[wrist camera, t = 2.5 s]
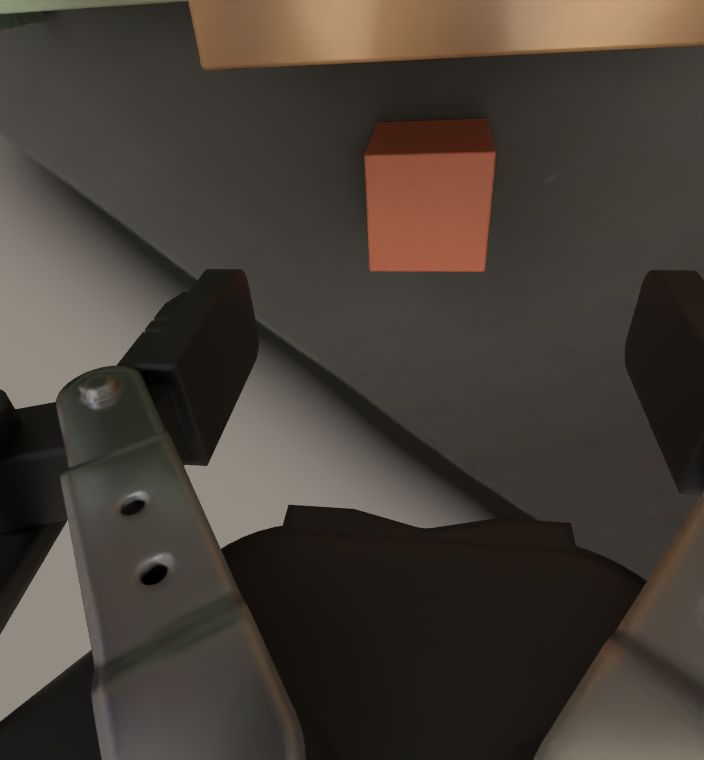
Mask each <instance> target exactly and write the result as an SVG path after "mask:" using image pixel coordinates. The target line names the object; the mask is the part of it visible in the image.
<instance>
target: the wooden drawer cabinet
mask: <svg viewBox="0 0 704 760" xmlns="http://www.w3.org/2000/svg"><path fill="white" fill-rule="evenodd" d="M188 3H189V8H190V12H191V17H192V22H193V27H194V32H195V37H196V42H197V47H198V52H199V57H200V61H201V66H202V68H203V69H204V70H225V69H245V68H265V67H285V66H305V65H325V64H345V63H365V62H385V61H405V60H425V59H445V58H465V57H485V56H505V55H525V54H545V53H565V52H585V51H605V50H625V49H645V48H665V47H685V46H704V0H188Z"/></svg>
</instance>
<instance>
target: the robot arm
mask: <svg viewBox="0 0 704 760" xmlns="http://www.w3.org/2000/svg"><path fill="white" fill-rule="evenodd" d="M258 347H259V337H258V330H257V325H256V320H255V315H254V310H253V305H252V300H251V295H250V290H249V285H248V281H247V277H246V275H245V273H244V271H243V270H241V269H207V270H205V271H204V273H203V274H202V275H201V277H200V278H199V279H198V281H197V282H196V283H195V285H194V286H193V287H192V289H191V290H190V292H183V293H181V294H180V295H178V296H177V297H175V298H173V299H172V300H170V301H169V302H167V303H166V304H165V305H164V306H163V307H162V309H161V310H160V311H159V312H158V314H157V315H156V316H155V317H154V321H151V322H150V324H149V325H148V326H147V328H146V329H145V332H143V333H142V334H141V335H140V336H139V338H138V339H137V340H136V341H135V343H134V344H133V345H132V346H131V348H130V349H129V350H128V352H127V353H126V354H125V355H124V357H123V358H122V359H121V360H120V362H119V363H118V364H117V365H116V366H107V367H102V368H98V369H95V370H92V371H89V372H86V373H84V374H82V375H80V376H78V377H76V378H75V379H73V380H72V381H70V382H69V383H68V384H67V385H66V386H65V387H63V389H62V390H61V391H60V392H59V394H58V396H57V399H56V402H54V403H48V404H43V405H37V406H31V407H26V408H21V409H15V408H14V407H13V405H12V403H11V402H10V400H9V398H8V396H7V395H6V393H5V392H4V391H3V390H0V634H1V632H2V630H3V629H4V627H5V625H6V624H7V622H8V620H9V618H10V617H11V615H12V613H13V612H14V610H15V608H16V607H17V605H18V603H19V602H20V600H21V598H22V597H23V595H24V593H25V591H26V590H27V588H28V586H29V584H30V583H31V581H32V580H33V578H34V576H35V574H36V573H37V571H38V569H39V568H40V566H41V564H42V563H43V561H44V559H45V558H46V556H47V554H48V552H49V551H50V549H51V547H52V546H53V544H54V542H55V541H56V539H57V537H58V535H59V534H60V532H61V530H62V529H63V527H64V525H65V523H66V522H67V520H68V522H69V528H70V534H71V539H72V544H73V550H74V556H75V561H76V567H77V572H78V577H79V582H80V588H81V594H82V599H83V604H84V610H85V615H86V621H87V626H88V632H89V637H90V643H91V648H92V650H91V651H89V652H88V653H87V654H85V655H84V656H83V657H82V658H80V659H79V660H78V661H77V662H75V663H74V664H73V665H72V666H70V667H69V668H68V669H66V670H65V671H64V672H63V673H61V674H60V675H59V676H57V677H56V678H55V679H54V680H52V681H51V682H50V683H49V684H47V685H46V686H45V687H44V688H42V689H41V690H40V691H38V692H37V693H36V694H35V695H34V696H32V697H31V698H30V699H28V700H27V701H26V702H24V703H23V704H22V705H21V706H19V707H18V708H17V709H16V710H14V711H13V712H12V713H11V714H9V715H8V716H7V717H6V718H4V719H3V720H2V721H0V760H704V280H703V279H702V278H701V276H700V275H699V274H698V273H697V272H696V271H694V270H651V271H649V272H648V273H647V275H646V276H645V278H644V281H643V284H642V287H641V290H640V294H639V297H638V301H637V304H636V308H635V311H634V315H633V318H632V322H631V325H630V329H629V332H628V336H627V340H626V345H625V364H626V369H627V372H628V374H629V376H630V379H631V381H632V383H633V386H634V388H635V390H636V393H637V395H638V397H639V400H640V402H641V404H642V407H643V409H644V411H645V414H646V416H647V418H648V421H649V423H650V425H651V428H652V430H653V432H654V435H655V437H656V439H657V442H658V444H659V446H660V449H661V451H662V453H663V456H664V458H665V460H666V463H667V465H668V467H669V470H670V472H671V474H672V477H673V479H674V481H675V484H676V486H677V488H678V491H679V493H680V494H694V495H701V497H700V498H699V500H698V501H697V503H696V505H695V506H694V508H693V509H692V511H691V513H690V514H689V516H688V517H687V519H686V520H685V522H684V524H683V525H682V527H681V528H680V530H679V532H678V533H677V535H676V536H675V538H674V540H673V541H672V543H671V544H670V546H669V547H668V549H667V551H666V552H665V554H664V555H663V557H662V559H661V560H660V562H659V563H658V565H657V566H656V568H655V570H654V571H653V573H652V574H651V576H650V578H649V579H648V581H646V580H644V579H643V578H642V577H640V576H639V575H637V574H636V573H634V572H632V571H631V570H629V569H627V568H626V567H624V566H622V565H621V564H619V563H617V562H615V561H613V560H611V559H608V558H606V557H604V556H602V555H599V554H597V553H594V552H592V551H589V550H587V549H583V548H580V547H577V546H576V545H575V540H574V536H573V531H572V526H571V523H563V522H547V521H531V520H516V519H501V518H496V519H489V520H483V521H477V522H469V523H463V524H456V525H449V526H443V527H436V528H427V529H426V528H418V527H414V526H411V525H407V524H404V523H400V522H397V521H394V520H390V519H387V518H383V517H380V516H376V515H373V514H369V513H366V512H362V511H359V510H355V509H345V508H330V507H315V506H299V505H288V509H287V512H286V516H285V519H284V523H283V526H278V527H273V528H269V529H266V530H262V531H258V532H255V533H253V534H250V535H248V536H245V537H242V538H240V539H239V540H237V541H234V542H233V543H230V544H228V545H227V546H225V547H223V548H222V549H220V546H219V544H218V542H217V540H216V538H215V535H214V533H213V531H212V529H211V526H210V524H209V522H208V520H207V518H206V515H205V513H204V511H203V508H202V506H201V504H200V502H199V499H198V497H197V495H196V493H195V491H194V489H193V486H192V484H191V482H190V479H189V477H188V475H187V473H186V470H185V468H184V465H200V466H201V465H202V466H207V465H208V463H209V461H210V459H211V457H212V454H213V452H214V450H215V448H216V446H217V443H218V441H219V439H220V437H221V435H222V433H223V430H224V428H225V426H226V424H227V422H228V420H229V417H230V415H231V413H232V411H233V409H234V407H235V404H236V402H237V400H238V398H239V396H240V394H241V391H242V389H243V387H244V385H245V382H246V381H247V378H248V376H249V374H250V372H251V370H252V368H253V365H254V363H255V361H256V358H257V354H258Z"/></svg>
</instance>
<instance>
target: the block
mask: <svg viewBox="0 0 704 760" xmlns="http://www.w3.org/2000/svg"><path fill="white" fill-rule="evenodd" d="M495 161H496V150H495V146H494V142H493V138H492V134H491V130H490V126H489V122H488V119H486V118H484V119H455V120H426V121H397V122H377V123H376V125H375V128H374V131H373V134H372V137H371V139H370V142H369V145H368V148H367V150H366V153H365V156H364V162H365V183H366V204H367V226H368V247H369V268H370V271H447V272H483V271H485V265H486V255H487V244H488V234H489V223H490V213H491V203H492V192H493V182H494V171H495Z"/></svg>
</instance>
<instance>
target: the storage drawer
mask: <svg viewBox="0 0 704 760" xmlns="http://www.w3.org/2000/svg"><path fill="white" fill-rule="evenodd" d="M187 1H188V0H0V31H1V30H6V29H11V28H16V27H20V26H25V25H30V24H35V23H40V22H44V21H46V19H45V16H44V13H43V11H56V10H70V9H85V8H99V7H114V6H128V5H143V4H158V3H172V2H187Z"/></svg>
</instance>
